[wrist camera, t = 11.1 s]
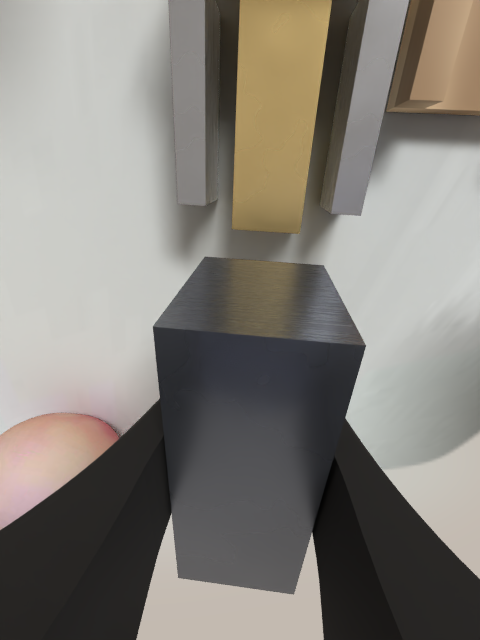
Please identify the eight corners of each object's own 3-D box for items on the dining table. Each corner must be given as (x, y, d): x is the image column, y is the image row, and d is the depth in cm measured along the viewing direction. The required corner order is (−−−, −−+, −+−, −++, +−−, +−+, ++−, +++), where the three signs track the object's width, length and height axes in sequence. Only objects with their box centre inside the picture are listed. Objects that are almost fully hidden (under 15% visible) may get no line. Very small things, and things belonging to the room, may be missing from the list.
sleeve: (380, 18, 12) (415, -30, 9) (343, 207, 15) (360, 215, 12) (191, 14, 12) (166, -34, 9) (194, 197, 15) (177, 204, 12)
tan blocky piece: (390, -74, 11) (470, -239, 6) (334, 226, 15) (358, 247, 11) (197, -75, 11) (151, -229, 7) (200, 217, 16) (174, 234, 11)
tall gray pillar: (323, 265, 9) (366, 345, 5) (281, 491, 14) (285, 621, 10) (205, 256, 9) (153, 326, 5) (206, 482, 14) (181, 605, 10)
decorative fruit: (115, 366, 21) (0, 510, 12) (166, 445, 24) (105, 605, 15) (14, 393, 23) (-145, 533, 14) (73, 462, 26) (-27, 611, 17)
